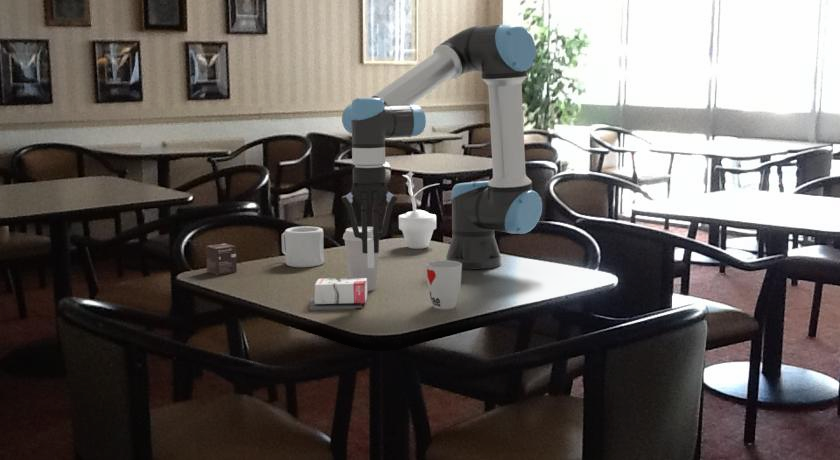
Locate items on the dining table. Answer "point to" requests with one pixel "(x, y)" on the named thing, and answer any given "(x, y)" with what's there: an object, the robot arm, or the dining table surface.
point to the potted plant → (417, 222)
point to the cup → (444, 283)
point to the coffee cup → (360, 258)
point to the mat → (333, 306)
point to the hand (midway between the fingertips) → (370, 266)
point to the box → (221, 259)
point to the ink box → (340, 291)
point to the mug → (303, 246)
